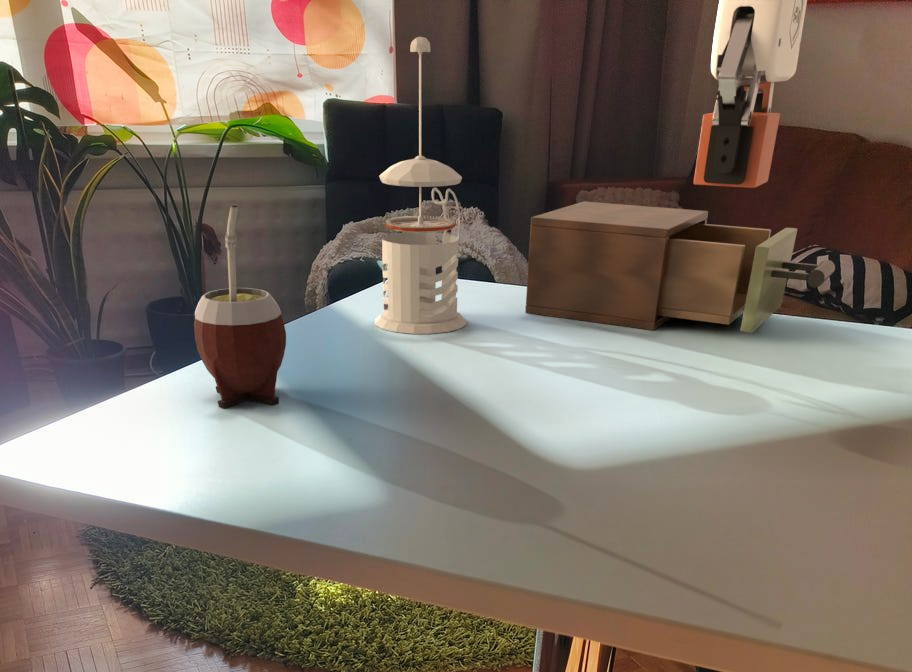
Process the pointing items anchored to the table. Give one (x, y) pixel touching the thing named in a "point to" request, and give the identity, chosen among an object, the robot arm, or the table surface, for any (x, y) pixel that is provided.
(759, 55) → the robot arm
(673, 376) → the table surface
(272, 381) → the mate gourd
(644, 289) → the cabinet
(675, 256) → the drawer
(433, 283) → the french press
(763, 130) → the block
